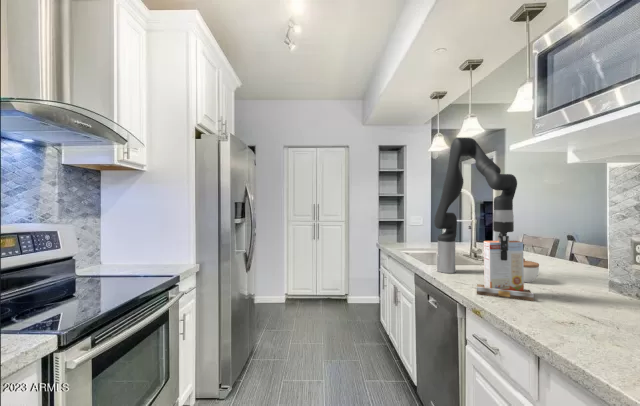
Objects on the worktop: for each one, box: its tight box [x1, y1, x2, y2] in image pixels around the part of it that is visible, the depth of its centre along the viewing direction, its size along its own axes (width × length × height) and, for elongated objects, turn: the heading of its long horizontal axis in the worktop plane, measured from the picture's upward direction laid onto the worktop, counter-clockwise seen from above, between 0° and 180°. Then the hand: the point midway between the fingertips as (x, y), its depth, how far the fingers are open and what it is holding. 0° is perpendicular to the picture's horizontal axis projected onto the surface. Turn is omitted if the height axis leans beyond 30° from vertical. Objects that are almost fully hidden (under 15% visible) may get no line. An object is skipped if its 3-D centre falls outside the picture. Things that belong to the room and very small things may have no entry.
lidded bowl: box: [523, 257, 540, 284], centre depth 153 cm, size 13×13×11 cm
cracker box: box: [483, 240, 525, 291], centre depth 132 cm, size 14×6×21 cm, turn 87°
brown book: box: [476, 283, 535, 302], centre depth 131 cm, size 20×12×3 cm, turn 62°
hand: (503, 258), depth 132 cm, fingers closed on cracker box, 7 cm apart
